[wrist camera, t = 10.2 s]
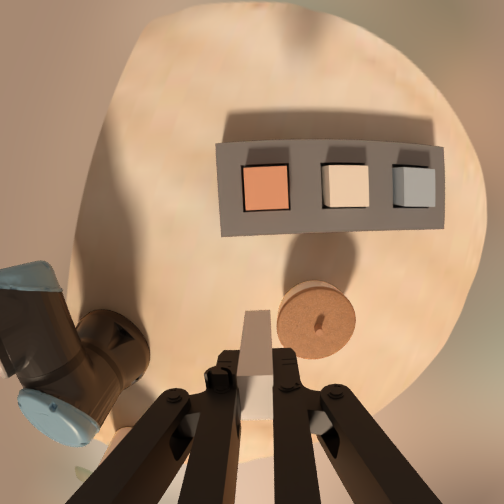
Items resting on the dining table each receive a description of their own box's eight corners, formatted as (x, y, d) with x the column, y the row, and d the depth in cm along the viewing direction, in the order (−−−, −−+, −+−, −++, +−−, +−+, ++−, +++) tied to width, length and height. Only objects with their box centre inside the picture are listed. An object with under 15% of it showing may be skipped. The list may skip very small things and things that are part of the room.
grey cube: (389, 203, 39) (404, 206, 34) (388, 168, 38) (403, 167, 33) (418, 203, 39) (435, 206, 34) (417, 169, 38) (435, 169, 33)
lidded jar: (286, 263, 44) (292, 284, 35) (351, 280, 45) (371, 303, 36) (266, 325, 47) (267, 357, 38) (328, 339, 47) (341, 371, 38)
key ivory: (322, 203, 40) (330, 207, 35) (320, 166, 38) (328, 165, 34) (357, 203, 39) (369, 206, 34) (356, 167, 38) (368, 165, 33)
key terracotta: (247, 206, 40) (245, 210, 35) (245, 169, 39) (243, 167, 34) (285, 205, 40) (288, 208, 35) (283, 167, 39) (286, 165, 34)
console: (226, 230, 44) (221, 237, 39) (220, 147, 41) (215, 143, 36) (427, 223, 42) (443, 229, 37) (427, 149, 39) (443, 147, 34)
